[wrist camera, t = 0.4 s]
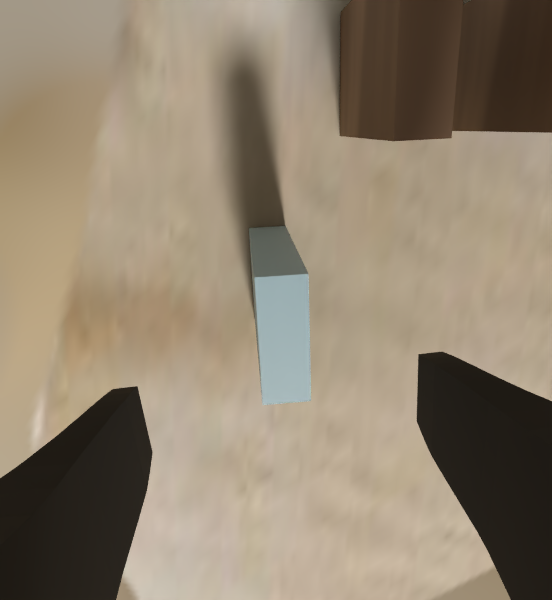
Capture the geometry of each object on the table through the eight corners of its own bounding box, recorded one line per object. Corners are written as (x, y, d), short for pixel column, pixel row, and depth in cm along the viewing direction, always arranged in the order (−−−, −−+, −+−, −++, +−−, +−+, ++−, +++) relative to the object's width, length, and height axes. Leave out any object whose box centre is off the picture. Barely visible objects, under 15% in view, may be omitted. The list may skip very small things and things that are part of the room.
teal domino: (285, 225, 20) (308, 273, 14) (288, 318, 22) (310, 400, 15) (248, 227, 20) (254, 277, 13) (254, 320, 22) (262, 404, 15)
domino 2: (496, 6, 18) (648, -64, 11) (483, 128, 19) (609, 129, 13) (456, 8, 18) (584, -61, 11) (446, 130, 19) (553, 132, 13)
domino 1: (382, 11, 17) (468, -58, 11) (378, 134, 19) (451, 137, 12) (340, 12, 17) (402, -57, 11) (339, 135, 19) (393, 140, 12)
